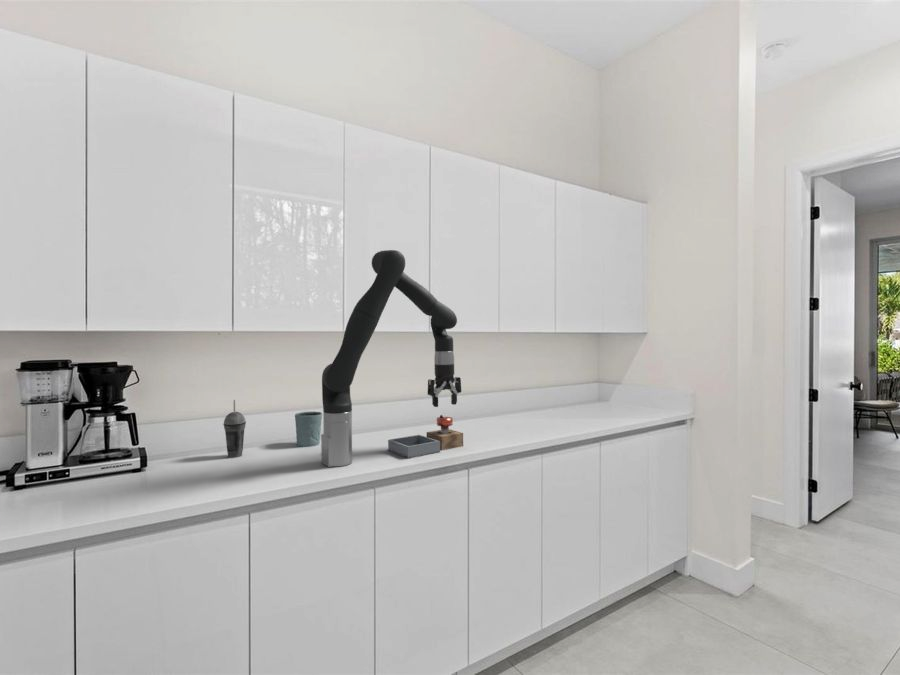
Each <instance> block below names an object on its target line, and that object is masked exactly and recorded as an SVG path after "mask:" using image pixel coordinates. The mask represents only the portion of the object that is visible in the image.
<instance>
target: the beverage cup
mask: <svg viewBox="0 0 900 675" xmlns="http://www.w3.org/2000/svg"><path fill="white" fill-rule="evenodd" d="M246 423H247V422H246V418H245V416H244V415H243V414H242V413H241V412H238V411H236V399H233V411H231V412H230V413H228V414H227V415H226V416H225V418H224V420H223V424H222V425H223V428H224V433H225V442H226V450H227V458H229V459H233V458H240V457H242V456H243V452H244V440H245V438H244V437H245V429H246Z"/></svg>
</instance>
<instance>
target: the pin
mask: <svg viewBox="0 0 900 675" xmlns="http://www.w3.org/2000/svg"><path fill="white" fill-rule="evenodd" d="M453 420H454V419H453V417H451V416H444V415H443V414H440V415H439V417H437V418H436V425H437V427H440V430H441V434H449V428H450V427H451V426H453Z"/></svg>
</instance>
